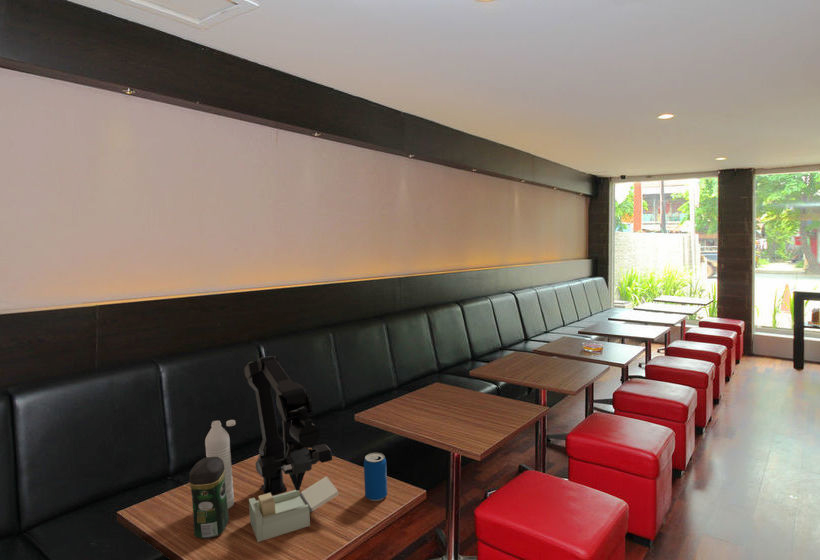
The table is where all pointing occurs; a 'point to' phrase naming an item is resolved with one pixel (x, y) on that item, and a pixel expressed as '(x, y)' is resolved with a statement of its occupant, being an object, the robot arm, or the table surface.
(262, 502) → the block
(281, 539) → the table surface
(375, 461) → the beverage can
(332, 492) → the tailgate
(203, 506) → the coffee jar
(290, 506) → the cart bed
